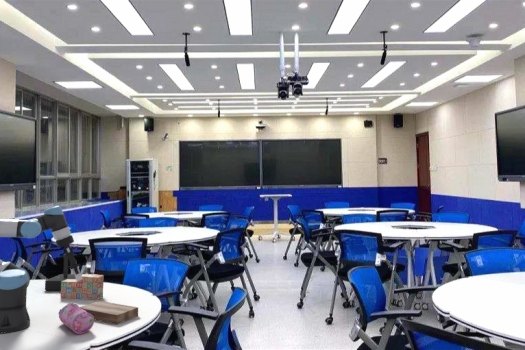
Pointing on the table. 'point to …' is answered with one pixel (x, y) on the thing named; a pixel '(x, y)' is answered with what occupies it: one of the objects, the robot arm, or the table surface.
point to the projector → (59, 278)
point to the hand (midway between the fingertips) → (79, 277)
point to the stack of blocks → (83, 287)
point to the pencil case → (76, 318)
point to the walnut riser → (111, 312)
